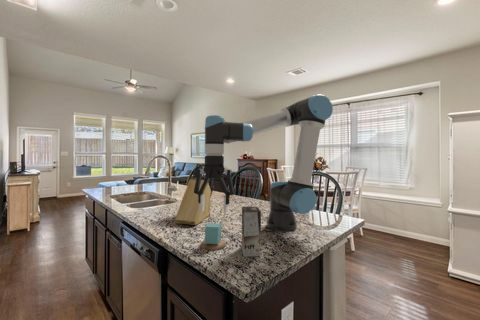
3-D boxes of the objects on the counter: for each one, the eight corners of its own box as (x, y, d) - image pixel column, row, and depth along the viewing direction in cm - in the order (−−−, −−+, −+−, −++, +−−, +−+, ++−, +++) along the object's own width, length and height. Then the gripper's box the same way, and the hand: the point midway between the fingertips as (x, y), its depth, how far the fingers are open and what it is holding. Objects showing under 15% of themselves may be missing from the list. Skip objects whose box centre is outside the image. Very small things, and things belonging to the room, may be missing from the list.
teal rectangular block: (221, 239, 94) (221, 223, 94) (217, 244, 89) (218, 227, 89) (208, 238, 95) (209, 222, 95) (204, 243, 90) (205, 226, 90)
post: (228, 241, 96) (228, 223, 96) (222, 251, 86) (222, 231, 86) (205, 239, 98) (205, 222, 97) (197, 249, 88) (197, 229, 88)
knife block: (215, 211, 149) (215, 163, 149) (195, 227, 115) (195, 165, 114) (198, 210, 151) (199, 163, 151) (174, 225, 117) (174, 165, 116)
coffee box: (261, 256, 82) (261, 211, 82) (243, 257, 81) (243, 211, 81) (257, 246, 91) (257, 206, 91) (240, 246, 90) (241, 206, 90)
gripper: (242, 155, 93) (241, 211, 93) (192, 155, 97) (191, 208, 97) (239, 155, 86) (238, 215, 86) (185, 154, 89) (184, 212, 90)
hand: (213, 211), depth 92 cm, fingers open, 9 cm apart
